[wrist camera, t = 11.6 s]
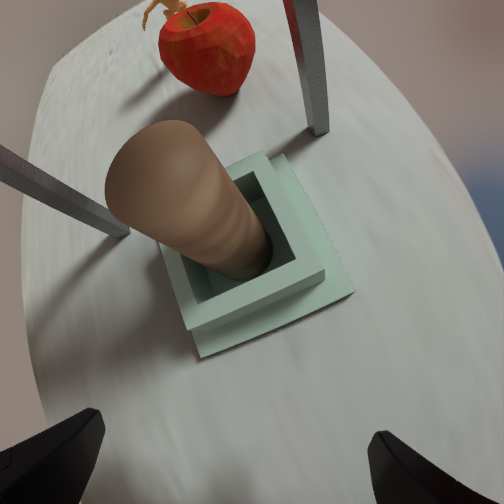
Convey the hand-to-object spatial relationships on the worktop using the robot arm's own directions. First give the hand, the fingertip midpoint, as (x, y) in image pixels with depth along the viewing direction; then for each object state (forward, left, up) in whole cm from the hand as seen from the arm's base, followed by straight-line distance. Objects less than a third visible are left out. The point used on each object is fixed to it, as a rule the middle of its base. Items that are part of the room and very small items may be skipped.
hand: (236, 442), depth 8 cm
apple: (+25, -10, -13) cm, 30 cm away
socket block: (+9, -2, -13) cm, 16 cm away
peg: (+9, -2, -12) cm, 15 cm away
